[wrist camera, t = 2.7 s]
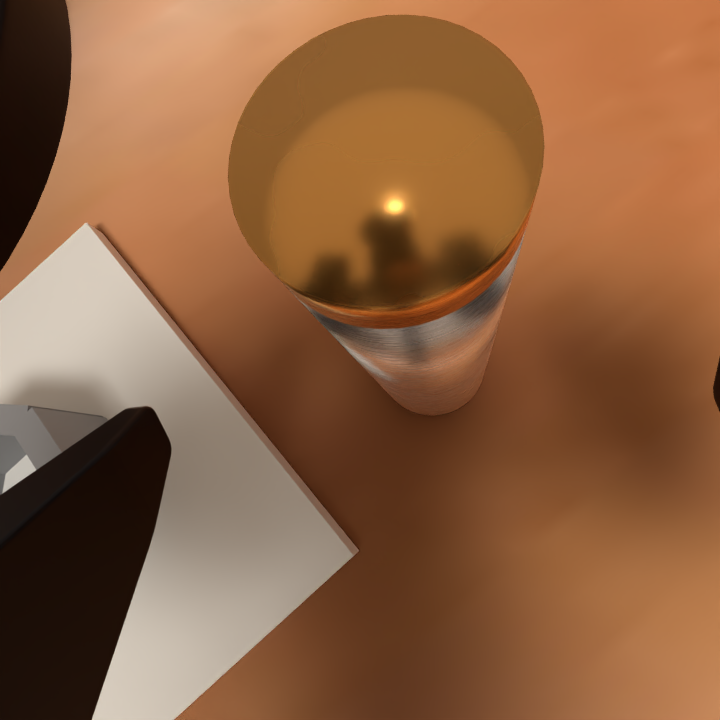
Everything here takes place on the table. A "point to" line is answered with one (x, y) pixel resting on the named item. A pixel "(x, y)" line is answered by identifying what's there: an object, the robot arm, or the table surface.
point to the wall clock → (30, 107)
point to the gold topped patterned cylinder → (394, 195)
